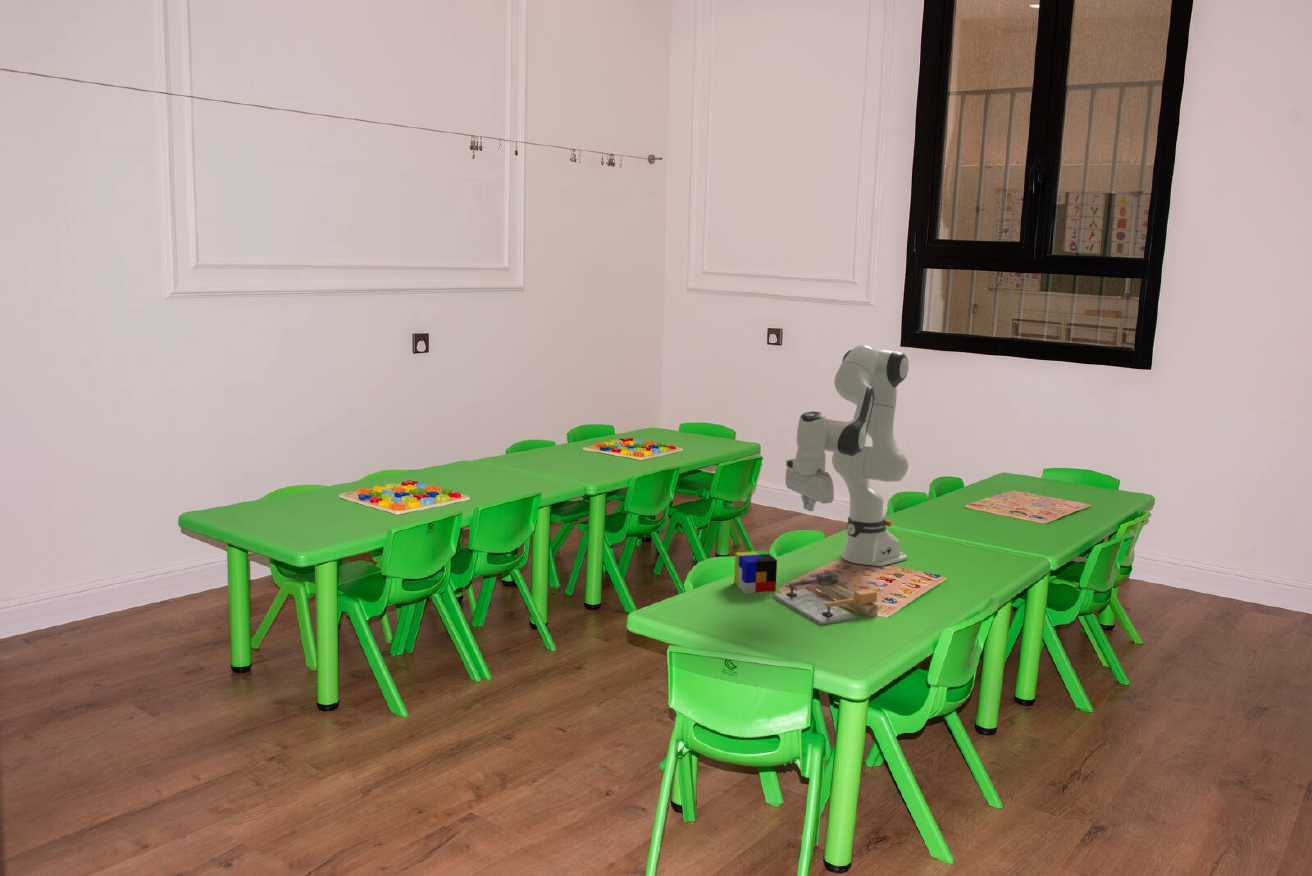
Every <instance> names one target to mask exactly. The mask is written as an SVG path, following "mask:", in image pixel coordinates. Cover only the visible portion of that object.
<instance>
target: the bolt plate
mask: <svg viewBox="0 0 1312 876" xmlns="http://www.w3.org/2000/svg"><path fill="white" fill-rule="evenodd" d="M772 598H773V599H775V600H777V601H778V602H780V603H782V604H783V605H785V606H787V607H789V608H791V609H792V610H794V611H795V612H797V613H799V614H801V615H802V616H804V617H806V618H808V619H809V620H811V621H813V622H814V623H816V624H818V625H820V626H824V625H829V624H830V625H831V624H836V623H843V622H847V621H852V620H853V621H854V620H856V615H855V614H853V613H851V612H849V611H847V610H845V609H843V608H842V607H840V606H839V605H837V606H831V607H830V614H827V607H826V606H825V603H827V602H830V601H828V600H827V599H825V598H823V597H822V596H820V595H817V594H816V593H813V592H812V591H810V590H808V589H806V588H802V589H796V590H795V589H793V593H791V590H788V591H783V592H776V593H772Z"/></svg>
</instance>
